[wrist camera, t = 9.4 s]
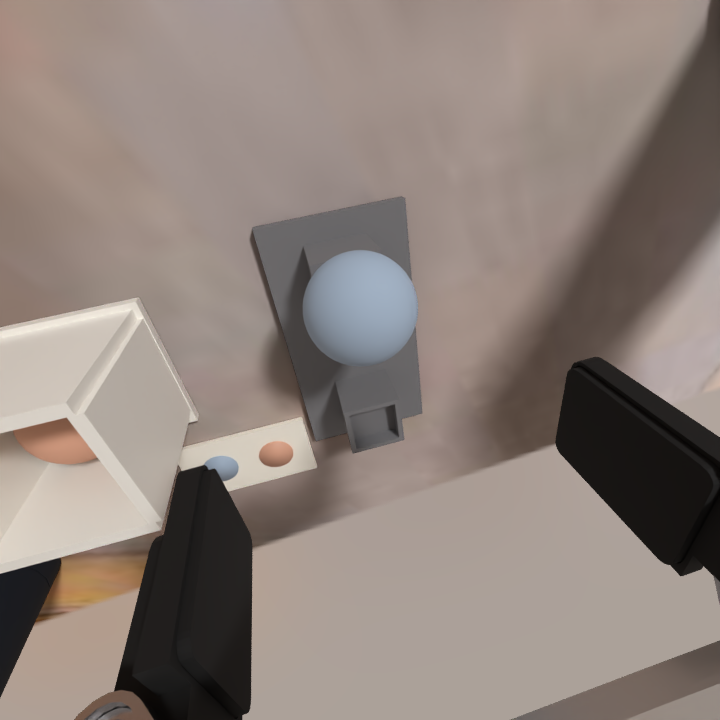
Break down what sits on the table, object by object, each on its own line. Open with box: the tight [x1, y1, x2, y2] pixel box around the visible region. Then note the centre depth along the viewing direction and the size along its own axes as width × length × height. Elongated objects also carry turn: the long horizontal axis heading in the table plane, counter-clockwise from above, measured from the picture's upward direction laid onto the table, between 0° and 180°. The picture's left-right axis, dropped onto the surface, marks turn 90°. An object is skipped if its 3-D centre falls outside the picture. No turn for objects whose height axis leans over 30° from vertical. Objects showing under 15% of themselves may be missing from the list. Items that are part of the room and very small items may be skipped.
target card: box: [178, 417, 317, 491], centre depth 28 cm, size 9×5×1 cm, turn 99°
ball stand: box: [252, 197, 422, 453], centre depth 23 cm, size 8×15×4 cm, turn 9°
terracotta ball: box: [13, 418, 97, 464], centre depth 20 cm, size 5×5×5 cm
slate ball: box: [303, 250, 418, 367], centre depth 17 cm, size 5×5×5 cm
